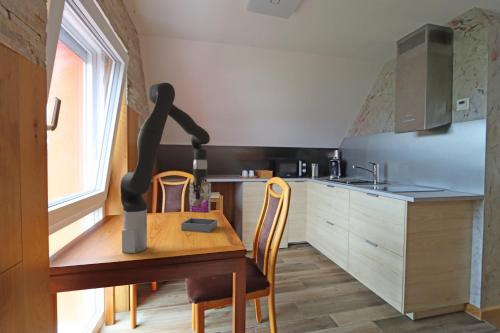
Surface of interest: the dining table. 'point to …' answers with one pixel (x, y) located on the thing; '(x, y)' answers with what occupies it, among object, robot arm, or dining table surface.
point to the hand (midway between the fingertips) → (199, 198)
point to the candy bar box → (204, 200)
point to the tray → (199, 225)
